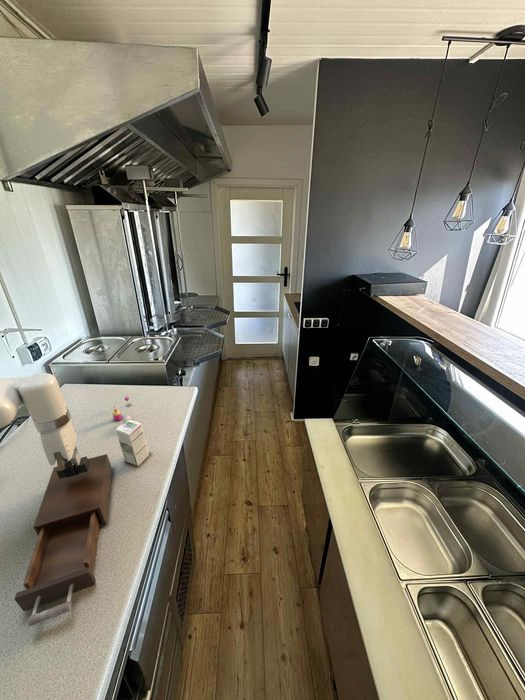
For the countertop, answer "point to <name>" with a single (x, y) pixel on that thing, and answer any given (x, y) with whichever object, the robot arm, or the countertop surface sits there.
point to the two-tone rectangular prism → (80, 462)
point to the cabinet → (77, 494)
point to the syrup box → (132, 442)
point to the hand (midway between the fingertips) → (74, 469)
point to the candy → (118, 415)
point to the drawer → (60, 565)
